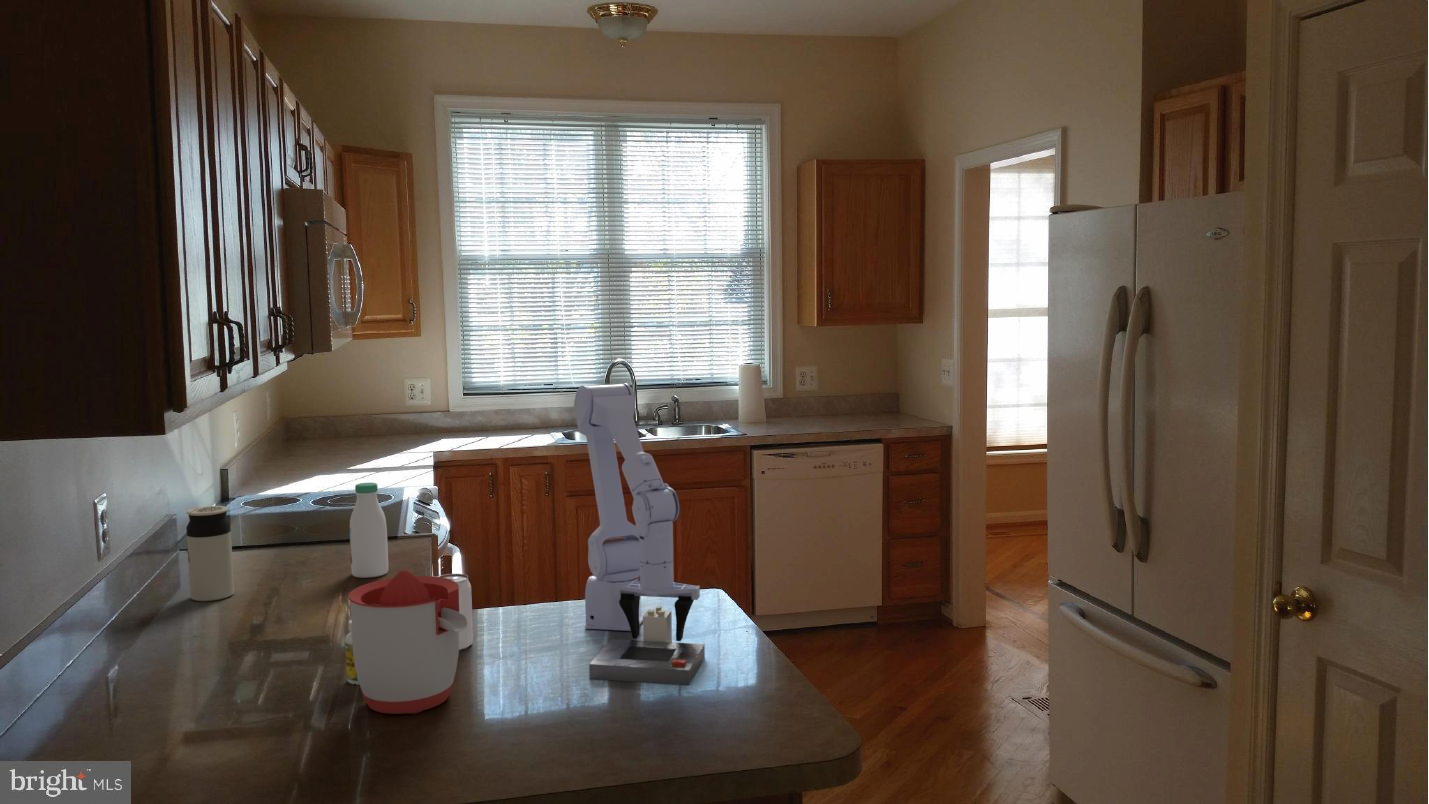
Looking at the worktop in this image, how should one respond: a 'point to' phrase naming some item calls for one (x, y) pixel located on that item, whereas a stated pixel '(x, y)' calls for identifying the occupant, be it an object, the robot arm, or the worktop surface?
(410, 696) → the citrus juicer
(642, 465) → the robot arm
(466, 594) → the can
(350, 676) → the supplement bottle
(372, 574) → the milk bottle
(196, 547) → the travel mug
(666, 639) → the plug
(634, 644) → the socket plate
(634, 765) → the worktop surface
